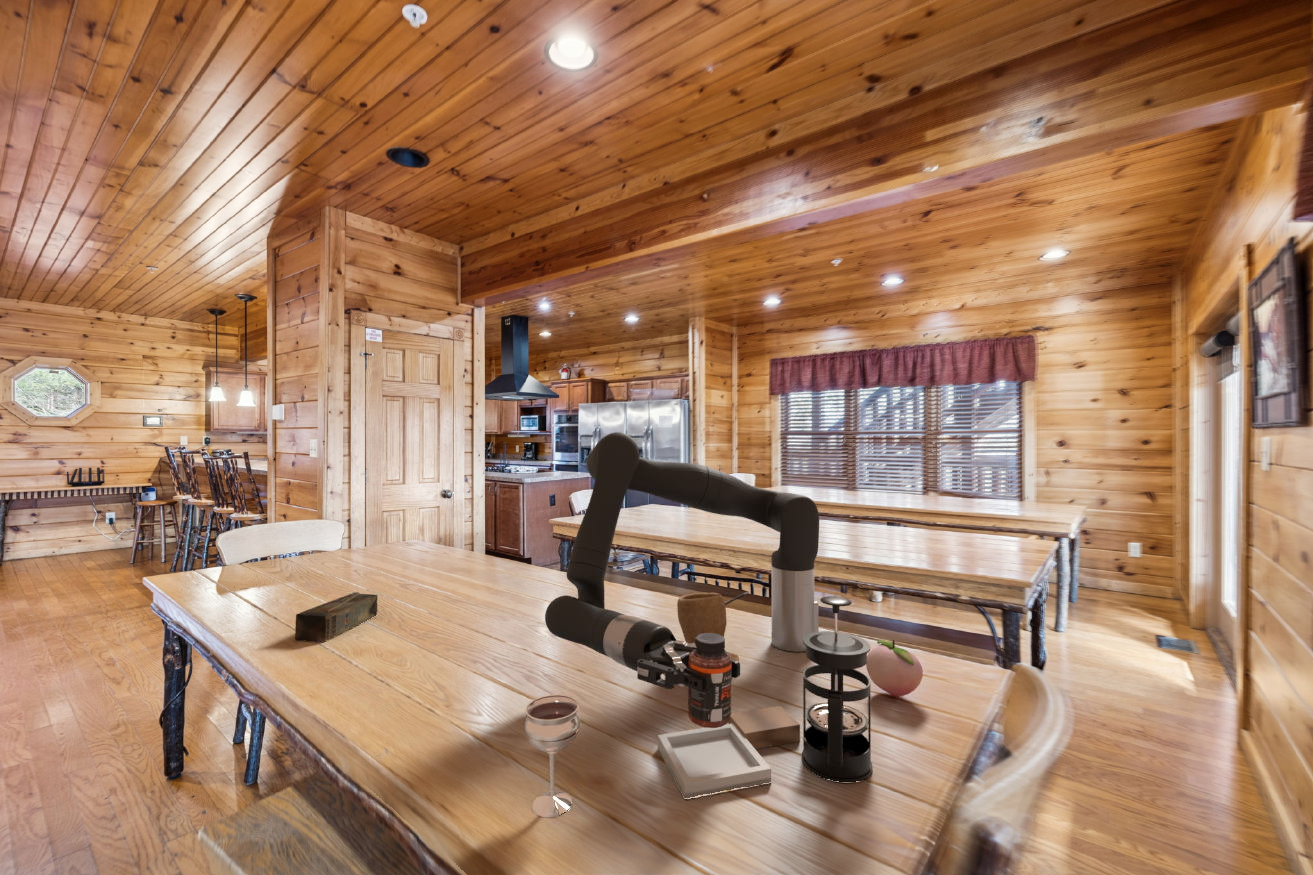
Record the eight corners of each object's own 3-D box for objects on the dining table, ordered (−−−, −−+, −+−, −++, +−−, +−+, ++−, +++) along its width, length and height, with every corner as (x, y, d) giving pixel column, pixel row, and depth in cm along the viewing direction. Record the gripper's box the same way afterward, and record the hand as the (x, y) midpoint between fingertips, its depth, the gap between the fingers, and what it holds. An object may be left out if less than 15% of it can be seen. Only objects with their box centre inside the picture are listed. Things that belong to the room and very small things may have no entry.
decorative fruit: (854, 690, 99) (854, 634, 99) (888, 682, 102) (888, 628, 102) (896, 714, 90) (896, 653, 90) (932, 704, 93) (931, 645, 94)
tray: (733, 736, 84) (733, 723, 84) (771, 783, 72) (771, 768, 72) (658, 748, 80) (658, 734, 80) (684, 800, 69) (684, 784, 69)
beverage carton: (379, 616, 141) (379, 591, 141) (324, 644, 122) (324, 614, 122) (351, 615, 142) (351, 590, 142) (292, 642, 123) (292, 613, 123)
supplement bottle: (729, 732, 73) (730, 647, 73) (684, 727, 74) (685, 643, 74) (732, 710, 78) (733, 631, 78) (691, 706, 80) (692, 628, 80)
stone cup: (691, 653, 116) (691, 582, 116) (745, 663, 111) (745, 589, 111) (659, 681, 103) (659, 601, 103) (718, 694, 97) (718, 610, 97)
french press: (804, 737, 83) (804, 585, 83) (871, 748, 80) (870, 591, 80) (797, 782, 72) (797, 608, 72) (874, 798, 69) (873, 615, 69)
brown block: (780, 721, 88) (780, 705, 88) (800, 741, 82) (799, 724, 82) (728, 729, 85) (728, 713, 85) (744, 750, 80) (744, 733, 80)
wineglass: (513, 814, 66) (513, 714, 66) (543, 781, 72) (543, 690, 73) (562, 828, 64) (562, 725, 64) (589, 793, 70) (589, 699, 70)
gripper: (603, 631, 81) (690, 665, 69) (669, 610, 91) (755, 636, 80) (603, 682, 81) (689, 724, 69) (669, 655, 91) (754, 688, 80)
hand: (724, 677), depth 75 cm, fingers closed on supplement bottle, 6 cm apart
